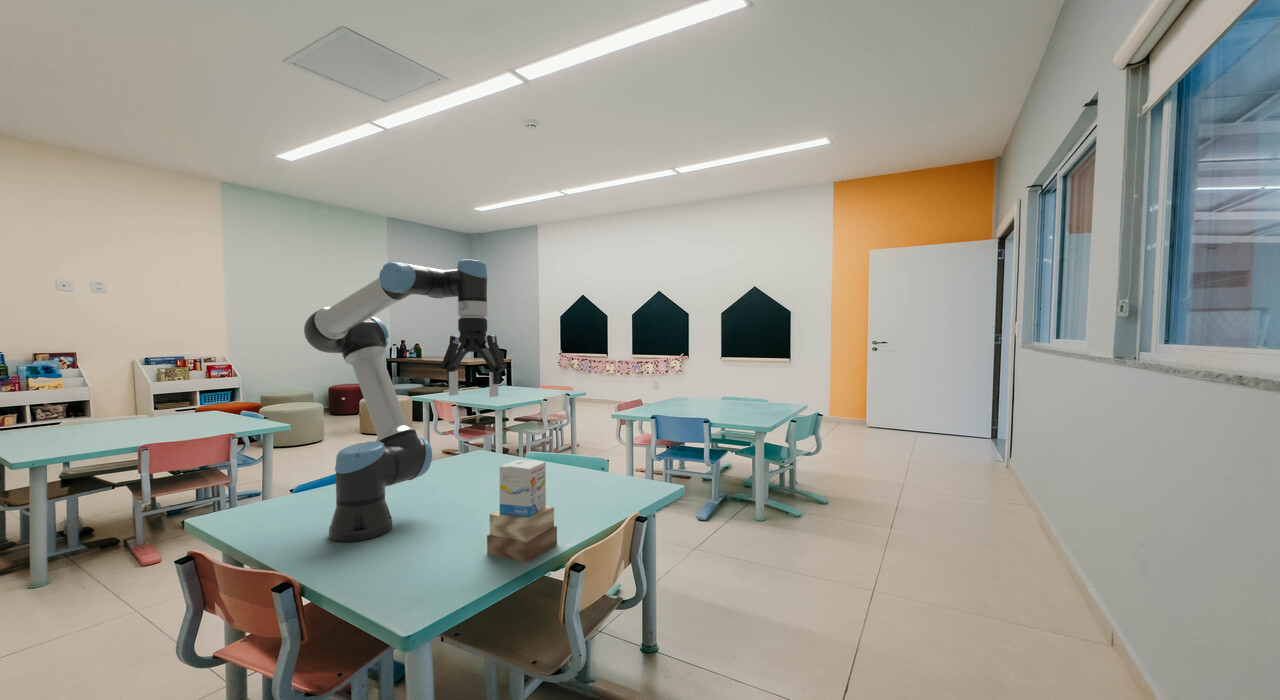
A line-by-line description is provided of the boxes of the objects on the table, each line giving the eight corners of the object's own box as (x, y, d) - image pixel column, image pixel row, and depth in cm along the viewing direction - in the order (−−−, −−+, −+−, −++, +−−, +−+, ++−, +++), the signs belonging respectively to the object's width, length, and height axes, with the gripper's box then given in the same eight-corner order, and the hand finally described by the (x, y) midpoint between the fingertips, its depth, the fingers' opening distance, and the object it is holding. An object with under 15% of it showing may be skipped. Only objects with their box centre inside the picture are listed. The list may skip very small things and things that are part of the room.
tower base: (487, 555, 123) (487, 535, 123) (518, 538, 134) (518, 519, 134) (527, 564, 118) (527, 543, 118) (557, 545, 129) (556, 526, 129)
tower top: (489, 534, 123) (489, 514, 123) (519, 520, 133) (518, 501, 133) (526, 542, 118) (526, 520, 118) (554, 526, 128) (553, 507, 128)
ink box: (529, 517, 120) (529, 468, 120) (498, 514, 123) (498, 466, 123) (547, 506, 129) (546, 460, 129) (517, 503, 131) (517, 458, 131)
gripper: (426, 318, 139) (427, 395, 139) (502, 315, 130) (502, 398, 130) (446, 319, 146) (447, 393, 146) (519, 317, 137) (520, 396, 137)
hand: (473, 395), depth 138 cm, fingers open, 13 cm apart
